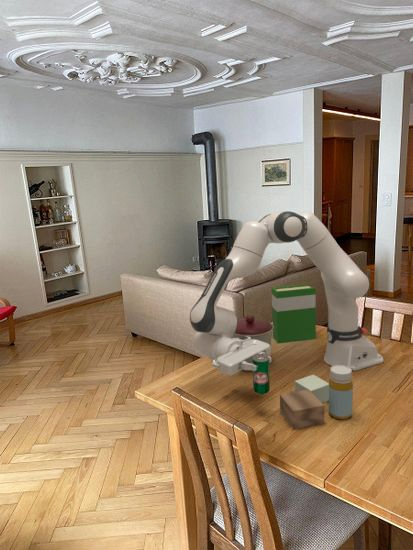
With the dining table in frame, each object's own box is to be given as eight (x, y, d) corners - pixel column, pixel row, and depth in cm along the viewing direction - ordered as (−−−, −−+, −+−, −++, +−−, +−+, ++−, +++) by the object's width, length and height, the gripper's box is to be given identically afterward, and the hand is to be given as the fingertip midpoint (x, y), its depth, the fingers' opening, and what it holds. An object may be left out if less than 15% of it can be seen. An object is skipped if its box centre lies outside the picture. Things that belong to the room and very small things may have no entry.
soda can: (252, 394, 127) (251, 358, 124) (254, 386, 132) (253, 351, 129) (269, 395, 126) (268, 359, 123) (270, 387, 131) (269, 352, 128)
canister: (225, 375, 157) (222, 323, 152) (233, 355, 174) (231, 307, 169) (272, 377, 153) (271, 324, 148) (276, 357, 170) (275, 308, 165)
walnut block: (309, 406, 132) (309, 389, 131) (324, 423, 123) (324, 405, 121) (280, 411, 130) (279, 394, 129) (293, 429, 121) (292, 411, 120)
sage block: (313, 390, 142) (313, 374, 141) (329, 400, 135) (330, 384, 134) (295, 397, 139) (294, 380, 137) (311, 407, 132) (311, 391, 130)
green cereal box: (309, 333, 192) (309, 283, 187) (315, 339, 185) (315, 287, 180) (273, 337, 190) (271, 287, 185) (278, 343, 183) (276, 291, 177)
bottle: (352, 409, 129) (353, 365, 126) (352, 421, 123) (353, 376, 119) (329, 406, 131) (329, 363, 128) (328, 418, 125) (328, 373, 122)
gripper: (207, 354, 129) (240, 366, 119) (250, 334, 142) (283, 344, 132) (209, 372, 130) (241, 386, 120) (251, 351, 143) (283, 362, 133)
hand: (263, 364), depth 126 cm, fingers closed on soda can, 5 cm apart
